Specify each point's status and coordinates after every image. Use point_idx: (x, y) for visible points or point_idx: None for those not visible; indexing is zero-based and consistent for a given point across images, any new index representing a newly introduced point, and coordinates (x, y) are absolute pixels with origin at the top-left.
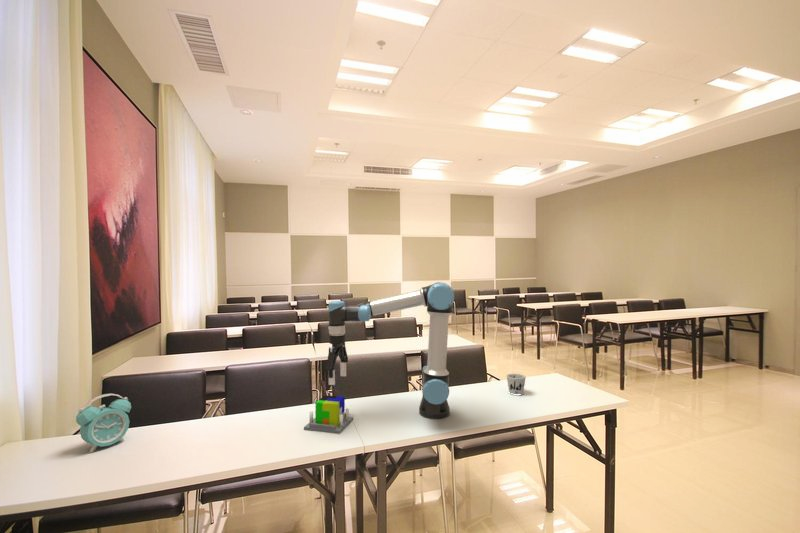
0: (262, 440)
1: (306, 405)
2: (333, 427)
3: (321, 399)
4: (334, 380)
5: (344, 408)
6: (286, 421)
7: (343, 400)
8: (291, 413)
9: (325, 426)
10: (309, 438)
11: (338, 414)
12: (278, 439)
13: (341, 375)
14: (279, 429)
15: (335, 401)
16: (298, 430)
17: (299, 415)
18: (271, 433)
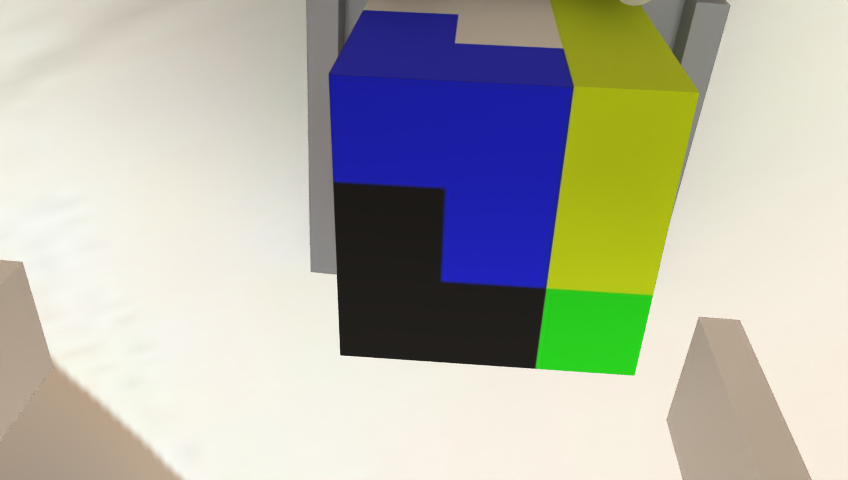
0: (826, 477)
1: (138, 428)
2: (724, 15)
3: (505, 346)
4: (757, 393)
5: (360, 20)
6: (485, 452)
7: (388, 61)
8: (329, 470)
9: (696, 113)
10: (824, 187)
11: (588, 32)
12: (820, 396)
13: (40, 359)
14: (636, 446)
15: (567, 148)
16: (651, 323)
17: (352, 410)
18: None
